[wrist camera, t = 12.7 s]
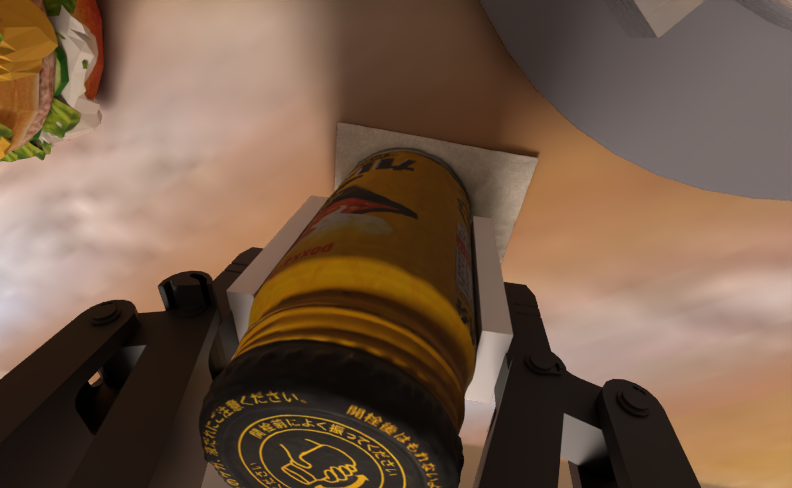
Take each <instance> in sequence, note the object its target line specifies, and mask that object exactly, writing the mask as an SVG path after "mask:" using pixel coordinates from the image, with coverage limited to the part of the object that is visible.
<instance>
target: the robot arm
mask: <svg viewBox="0 0 792 488" xmlns="http://www.w3.org/2000/svg"><path fill="white" fill-rule="evenodd" d="M328 199H329V198H327V197H319V196H311V197H310V198H309V199H308V200H307V201H306V202H305V203H304V204H303V205H302V207H301V208H300V209H299V210H298V211H297V212H296V213H295V214H294V216H293V217H292V218H291V219H290V220H289V221H288V222H287V223H286V224H285V226H284V227H283V228H282V229H281V230H280V231H279V232H278V233H277V235H276V236H275V237H274V238H273V239H272V240H271V241H270V242H269V244H268V245H267V246H266V247H265V248H264V249H262V248H255V247H252V248H250V249H248V250H246V251H244V252H242V253H241V254H239V255H238V256H237V257H236V258H235V259H234V260H233V261H232V263H231V264H229V266H228V267H227V268H226V269H225V271H223V272H222V273H221V274H220V275H219V276H218V277H217V278H216V279H215V280H214V281H213V280H212V278H211V276H210V275H209V274H207V273H205V272H202V271H187V272H181V273H178V274H175V275H172V276H170V277H169V278H167V279H165V280H163V281H162V282H161V283H160V284H159V285H158V289H159V292H160V295H161V297H162V300H163V303H164V306H165V309H166V311H161V312H148V313H138V312H137V310H136V307H135V305H134V304H133V303H132V302H130V301H126V300H111V301H106V302H102V303H100V304H97V305H95V306H93V307H90V308H89V309H87V310H86V311H84V312H83V313H81V314H80V315H79V316H78V317H76V318H75V319H74V320H73V321H71V322H70V323H69V324H68V325H67V326H65V327H64V328H63V329H62V330H60V331H59V332H58V333H57V334H55V335H54V336H53V337H52V338H51V339H49V340H48V341H47V342H46V343H44V344H43V345H42V346H41V347H40V348H38V349H37V350H36V351H35V352H33V353H32V354H31V355H30V356H29V357H27V358H26V359H25V360H24V361H22V362H21V363H20V364H19V365H17V366H16V367H15V368H14V369H13V370H11V371H10V372H9V373H8V374H6V375H5V376H4V377H3V378H2V379H0V488H201V486H202V482H203V478H204V474H205V471H206V467H207V463H208V462H207V461H206V460H205V459H204V449H203V447H202V443H201V436H200V432H199V416H200V412H201V409H202V406H203V399H204V397H205V396H206V394H207V393H208V392H209V388H210V384H211V383H212V382H213V381H214V379H215V378H216V377H217V376H218V375H219V374H220V373H221V372H222V371H223V369H224V368H225V366H226V365H227V364H228V363H229V362H230V361H231V360H232V359H231V358H232V357H233V356H234V354H235V353H236V351H237V349H238V345H239V343H240V340H241V339H242V337H243V336H244V334H245V333H246V331H247V330H248V322H249V316H250V310H251V306H252V304H253V301H254V299H255V297H256V295H257V294H258V292H259V291H260V289H261V287H262V286H263V284H264V283H265V281H266V280H268V278H269V277H270V275H271V273H272V272H273V270H274V269H275V267H276V266H277V265H278V264H279V262H280V261H281V260H282V259H283V258H284V257H285V256H286V255H287V253H288V252H289V251H290V250H291V248H292V247H293V246H294V245H295V243H296V242H297V240H298V239H299V238H300V237H301V235H302V234H303V233H304V232H305V230H306V229H307V228H308V226H309V225H310V224H311V223H312V221H313V220H314V218H315V217H316V216H317V215H318V213H319V212H320V211H321V209H322V208H323V207H324V205H325V203H326V201H327V200H328ZM470 231H471V248H472V276H473V294H474V302H475V326H476V345H477V346H476V368H475V373H474V376H473V380H472V382H471V383H470V385H469V386H468V388H467V391H466V393H465V399H466V400H472V401H478V402H484V403H489V404H491V401H492V398H493V395H494V393H495V402H496V407H495V410H494V413H493V416H492V419H491V422H490V425H489V428H488V431H487V432H488V434H487V438H486V441H485V445H484V448H483V452H482V456H481V459H480V463H479V466H478V470H477V474H476V477H475V481H474V484H473V488H558V477H559V467H560V456H561V457H563V458H565V459H567V460H568V463H569V468H570V474H571V479H572V484H573V488H701V486H700V484H699V482H698V480H697V478H696V476H695V474H694V472H693V469H692V467H691V465H690V463H689V461H688V459H687V457H686V455H685V453H684V450H683V448H682V446H681V444H680V442H679V440H678V438H677V436H676V434H675V431H674V429H673V427H672V425H671V423H670V421H669V419H668V417H667V415H666V412H665V410H664V409H663V407H662V406H661V404H660V403H659V401H658V400H657V399H656V398H655V397H654V396H653V395H652V394H651V393H650V392H648V391H647V390H646V389H644V388H642V387H641V386H639V385H637V384H636V383H633V382H630V381H627V380H623V379H612V380H609V381H607V382H606V383H605V384H604V386H603V387H600V386H597V385H595V384H592V383H590V382H587V381H585V380H583V379H580V378H578V377H576V376H574V375H572V374H571V373H569V372H568V371H567V370H566V367H565V365H564V363H563V362H562V360H561V359H560V358H559V357H558V356H556V355H555V354H554V353H553V352H551V349H550V346H549V342H548V339H547V335H546V332H545V329H544V325H543V322H542V318H540V316H541V315H540V312H539V309H538V305H537V301H536V298H535V295H534V294H533V293H532V292H531V291H530V289H529V288H528V287H527V286H526V285H522V284H515V283H508V282H503V277H502V271H501V266H500V260H499V255H498V249H497V244H496V238H495V233H494V227H493V222H492V218H484V217H476V216H473V219H472V224H471V229H470ZM97 371H98V373H99V375H100V378H99V379H98V380H97V381H96V382H94V383H93V384H92V385H90V384H89V382H88V380H89V379H90V378H91V377H92V376H93V375H94V374H95V373H96V372H97Z"/></svg>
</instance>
